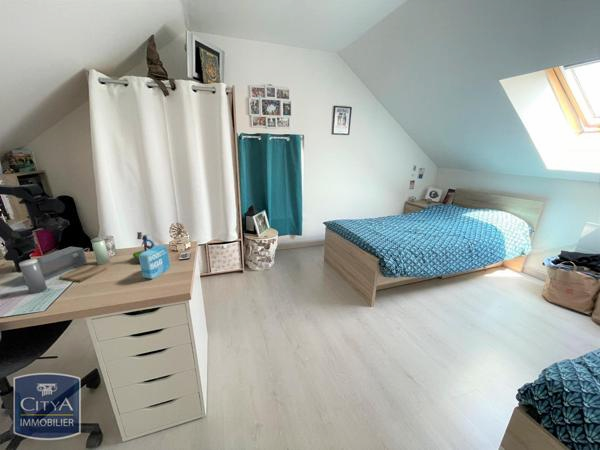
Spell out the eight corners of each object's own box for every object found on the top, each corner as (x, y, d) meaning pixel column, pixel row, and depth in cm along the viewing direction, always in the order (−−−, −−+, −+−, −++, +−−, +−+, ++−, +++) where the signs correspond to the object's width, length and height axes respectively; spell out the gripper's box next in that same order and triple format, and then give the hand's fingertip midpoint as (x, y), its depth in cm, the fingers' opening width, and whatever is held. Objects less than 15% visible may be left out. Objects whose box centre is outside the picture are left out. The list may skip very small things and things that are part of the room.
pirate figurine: (165, 252, 138) (161, 226, 134) (161, 261, 127) (156, 234, 122) (137, 255, 134) (131, 229, 129) (130, 265, 123) (124, 237, 118)
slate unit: (25, 280, 108) (18, 264, 106) (74, 260, 127) (69, 246, 124) (40, 283, 106) (34, 266, 104) (87, 262, 125) (83, 248, 122)
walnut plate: (59, 278, 110) (59, 276, 110) (87, 266, 121) (86, 264, 121) (80, 282, 108) (80, 280, 107) (106, 269, 119) (106, 267, 118)
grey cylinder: (26, 292, 100) (15, 263, 96) (41, 286, 104) (31, 258, 100) (35, 294, 99) (24, 265, 94) (50, 287, 103) (40, 259, 99)
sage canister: (94, 264, 123) (88, 240, 119) (104, 260, 128) (98, 236, 124) (102, 265, 122) (96, 241, 118) (112, 261, 127) (106, 237, 123)
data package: (151, 280, 110) (146, 255, 106) (142, 279, 111) (137, 254, 107) (170, 267, 121) (166, 245, 117) (162, 266, 122) (158, 244, 118)
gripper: (24, 220, 100) (36, 255, 105) (73, 209, 118) (82, 239, 123) (4, 218, 103) (17, 252, 108) (55, 207, 120) (65, 237, 125)
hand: (47, 245), depth 116 cm, fingers open, 9 cm apart
